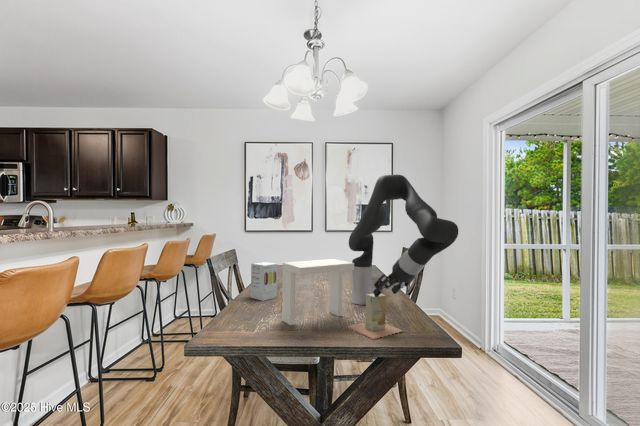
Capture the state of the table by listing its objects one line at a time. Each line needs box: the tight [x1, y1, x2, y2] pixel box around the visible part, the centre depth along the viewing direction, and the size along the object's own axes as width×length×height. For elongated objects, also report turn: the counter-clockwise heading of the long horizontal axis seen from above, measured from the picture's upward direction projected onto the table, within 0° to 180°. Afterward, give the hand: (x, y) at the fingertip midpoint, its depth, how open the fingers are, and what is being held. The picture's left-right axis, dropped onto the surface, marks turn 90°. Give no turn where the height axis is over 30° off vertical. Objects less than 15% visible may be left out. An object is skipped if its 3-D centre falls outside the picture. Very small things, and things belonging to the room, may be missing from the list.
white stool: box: [281, 258, 354, 326], centre depth 135 cm, size 24×14×22 cm, turn 123°
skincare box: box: [364, 293, 387, 331], centre depth 125 cm, size 6×4×12 cm
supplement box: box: [250, 261, 278, 302], centre depth 170 cm, size 10×9×17 cm
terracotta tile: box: [347, 321, 404, 340], centre depth 125 cm, size 14×14×1 cm
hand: (384, 293), depth 121 cm, fingers open, 8 cm apart
